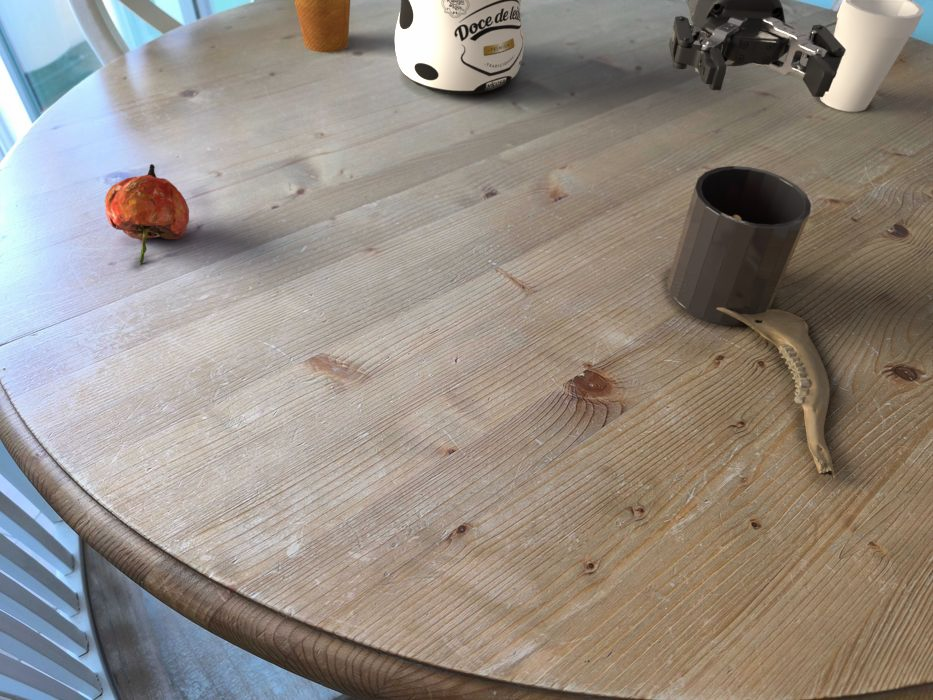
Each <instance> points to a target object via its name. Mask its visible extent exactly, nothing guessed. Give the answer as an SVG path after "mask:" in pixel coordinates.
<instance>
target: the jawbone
mask: <svg viewBox="0 0 933 700" xmlns="http://www.w3.org/2000/svg"><path fill="white" fill-rule="evenodd" d="M716 309H717V310H719V311H722V312H724V313H726V314H728V315H731V316H732V317H734V318H736V319H738V320H740V321H742V322H744V323H745V324H747V325H746V326H748V327H750V328H751V329H752V330H754V331H755V332H757V333H758V334H759V335H760V336H761V337H762V338H764V339H765V340H767V341H768V342H770V343H771V344H773V345H774V346H775V347H776V348H777V349H778V353H779V354H780V355H782V356H781V359H783V360H786V361H784V364H785V365H786V366H787V369H788V370H789V371H790V375H792V377H791V378H792V380H793V381H794V383H795V385H794V387H795V388H796V389H795V391H794V392H793V394H795V397H794V400H793V401H794V403H795V404H796V405H798V406H801V407H802V409H803V413H804V414H803V417H804V425H805V432H806V441H807V446H808V449H809V451H810V453H811V454H812V457H813V462H814V464H815V466H816V469H817V472H818V474H820V475H822V476H824V477H828V476H829V478H830V479H831V480H833V479H835V470H834V466H833V462H832V457H831V453H830V449H829V447H828V446H827V444H826V439H825V422H826V418H827V414H828V409H829V404H830V392H831V391H830V390H831V388H830V381H829V378H828V374H827V371H826V368H825V366H824V363H823V360H822V359H821V356H820V354H819V352H818V350H817V348H816V346H815V344H814V342H813V341H812V339H811V337H810V336H809V330H810V329H809V325H808V323H807V322H806V321H805V318H803V317H801V316H799V315H797V314H794V313H791V312H790V311H788V310H787V311H786V310H782V309H777V308H769V309H767V311H766V312H763V313H758V314H739V313H737V312H735V311H731V310H728V309H726V308H716Z"/></svg>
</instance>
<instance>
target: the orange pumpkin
mask: <svg viewBox="0 0 933 700" xmlns="http://www.w3.org/2000/svg"><path fill="white" fill-rule="evenodd" d="M104 206H105V215H106V218H107V222H108V223H109V224H110V226H111V227H112V228H113V229H114V230H118V231H122V232H123V233H124V234H125V235H127V236H128V237H130V238H131V239H133V240H134V239H136V240H142V242H141V250H140V258H139V259H140V260H139V265H140V266H141V265H142V264H143V263H144V260H145V253H146V252H147V250H148V248H147V240H148V239H155V238H160V237H161V238H162V239H164V240H178V239H180V238H182V237H183V236H184V234H185V232H186V231H187V228H188V224H189V222H190V208H189V206H188V203H187V200H186V199H185V197H184V196H183V194H182V192H180V190H178V188H177V187H176V186H175V185H174V184H173V183H172V182H171V181H170V180H168V179H167V178H162V177H161V178H160V177H158V176H157V175H156V173H155V165H154V164H153V163H150V165H149V169H148V172H147V174H143V175H139V176H131V177H127V178H125V179H122V180H120V181H119V182H117V183H114V184H113V185H111V187H110V188H109V190H108V191H107V192H106V194H105V199H104Z"/></svg>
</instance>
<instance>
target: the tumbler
mask: <svg viewBox="0 0 933 700" xmlns="http://www.w3.org/2000/svg"><path fill="white" fill-rule="evenodd" d="M811 211H812V203H811V200H810V199H809V197H808V194H807V193H806V192H805V191H804V190H803V189H802V188H801V187H799V186H798V185H797V184H796V183H794V182H793V181H791V180H789V179H787V178H785V177H784V176H782V175H779V174H776V173H774V172H771V171H770V170H769V171H768V170H766V169H765V170H764V169H760V168H756V167H751V166H740V165H729V166H720V167H719V166H718V167H715V168H713V169H710V170H707V171H705V172H704V173H702V175H700V176H699V177H697V179H696V182H695V185H694V189H693V193H692V195H691V199H690V203H689V206H688V209H687V213H686V217H685V219H684V224H683V227H682V230H681V233H680V237H679V241H678V243H677V247H676V251H675V255H674V258H673V262H672V265H671V268H670V272H669V276H668V278H667V291H668V294H669V296H670V298H671V299H672V301H673V302H674V303H675V305H677V307H679V308H680V309H681V310H682V311H684V312H685V313H686V314H688V315H690V316H692V317H693V318H695V319H697V320H700V321H703V322H705V323H708V324H712V325H717V326H723V327H744V326H748V325H747V324H745V323H744V322H742V321H740V320H738V319H736V318H734V317H732V316H731V315H728V314H726V313H724V312H722V311H719V310H717V309H716V308H726V309H728V310H731V311H735V312H737V313H739V314H758V313H763V312H766V311H767V309H771V307H772V304H773V302H774V300H775V298H776V295H777V293H778V290H779V288H780V286H781V283H782V281H783V278H784V277H785V274H786V271H787V269H788V267H789V264H790V262H791V260H792V257H793V255H794V253H795V250H796V248H797V246H798V243H799V242H800V239H801V236H802V234H803V232H804V230H805V226H806V225H807V222H808V220H809V218H810V215H811ZM733 215H738V216H740V217H741V220H738V219H736V218H733V217H732V216H733Z"/></svg>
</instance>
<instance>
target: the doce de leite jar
mask: <svg viewBox="0 0 933 700" xmlns="http://www.w3.org/2000/svg"><path fill="white" fill-rule="evenodd" d="M521 4H522V0H400V9H399V14H398V17H397V21H396V26H395V32H394V47H395V48H394V50H395V55H396V59H397V63H398V64H397V65H398V66H399V68H400V70H401V72H402V74H403V76H405V77H406V78H407V79H408V80H410V82H411V81H412V83H414V84H415V85H417V86H419V87H422V88H425V89H427V90H430V91H433V92H437V93H443V94H449V95H475V94H481V93H482V94H483V93H488V92H491V91H494V90H495V89H496V90H497V89H499V88H503V87H504V86H505V85H507V84H508V83H510V82H511V81H512V80H513V79H514V78H515V77H516V76H517V74H518V73H519V70H520V67H521V64H522V60H523V56H524V51H525V31H524V26H523V21H522V13H521V11H522V9H521Z"/></svg>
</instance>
